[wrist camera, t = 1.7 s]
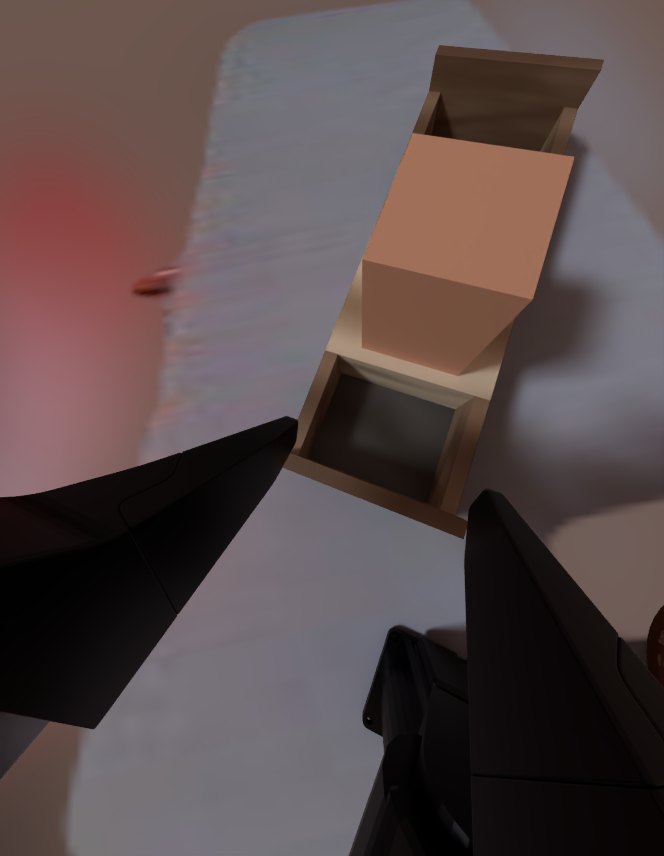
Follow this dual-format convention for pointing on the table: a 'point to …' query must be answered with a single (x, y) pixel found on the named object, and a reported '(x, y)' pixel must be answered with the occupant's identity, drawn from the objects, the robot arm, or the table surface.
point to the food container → (656, 647)
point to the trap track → (408, 382)
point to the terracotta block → (457, 248)
